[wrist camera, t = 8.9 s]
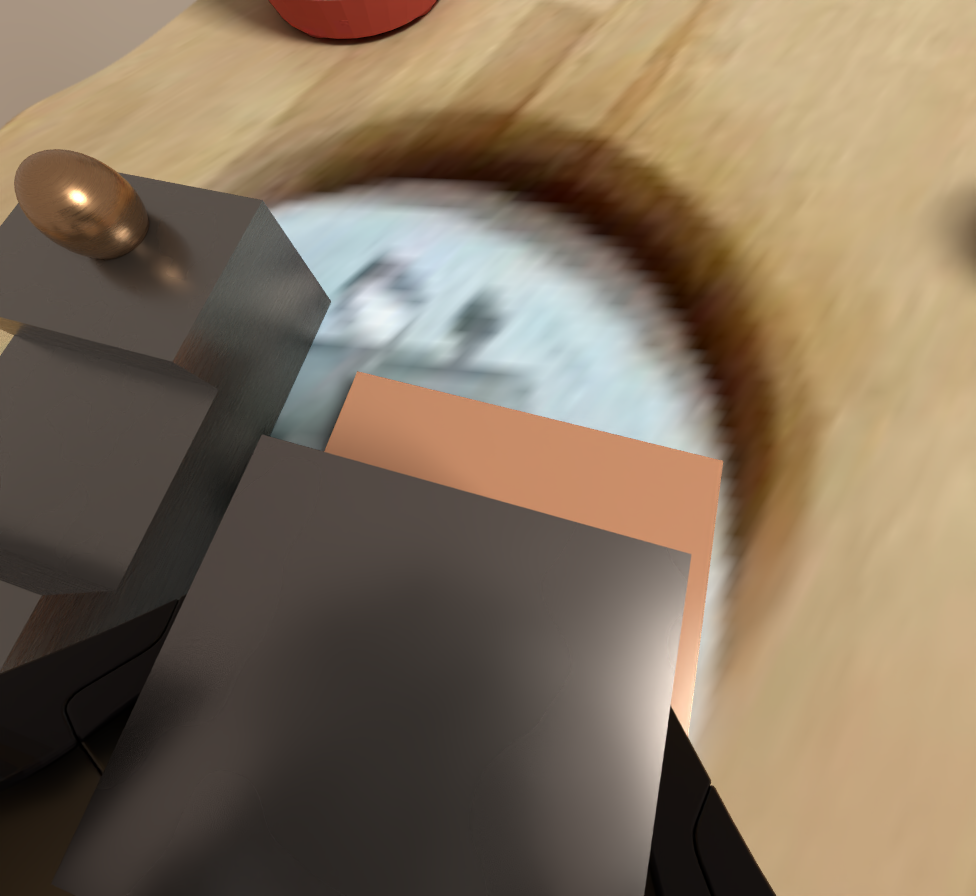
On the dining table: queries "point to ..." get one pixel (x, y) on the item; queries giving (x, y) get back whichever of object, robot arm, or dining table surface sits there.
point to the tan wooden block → (393, 701)
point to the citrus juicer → (349, 16)
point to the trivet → (546, 477)
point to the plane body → (131, 387)
